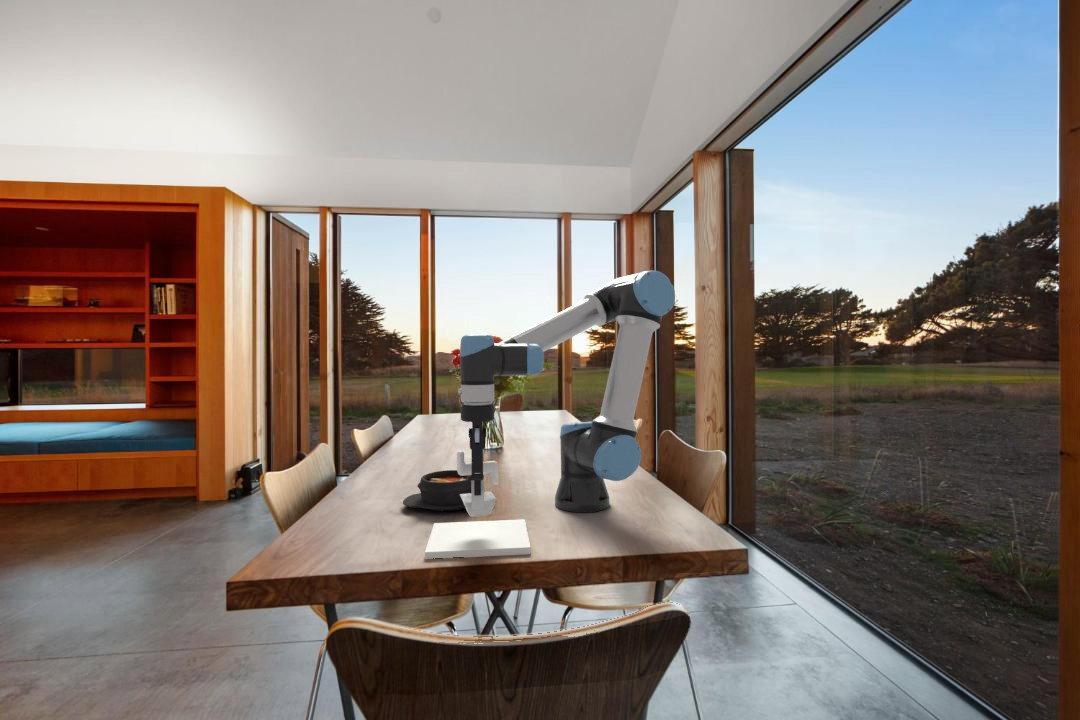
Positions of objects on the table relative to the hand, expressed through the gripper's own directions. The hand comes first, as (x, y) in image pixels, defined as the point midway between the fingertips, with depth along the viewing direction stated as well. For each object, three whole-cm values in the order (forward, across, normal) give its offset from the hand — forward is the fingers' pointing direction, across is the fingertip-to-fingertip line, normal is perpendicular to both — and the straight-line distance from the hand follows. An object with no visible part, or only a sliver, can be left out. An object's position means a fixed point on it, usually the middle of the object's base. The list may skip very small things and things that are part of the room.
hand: (478, 503), depth 117 cm
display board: (+9, 0, 0) cm, 9 cm away
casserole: (+9, -28, -9) cm, 31 cm away
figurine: (+2, 0, 0) cm, 2 cm away
